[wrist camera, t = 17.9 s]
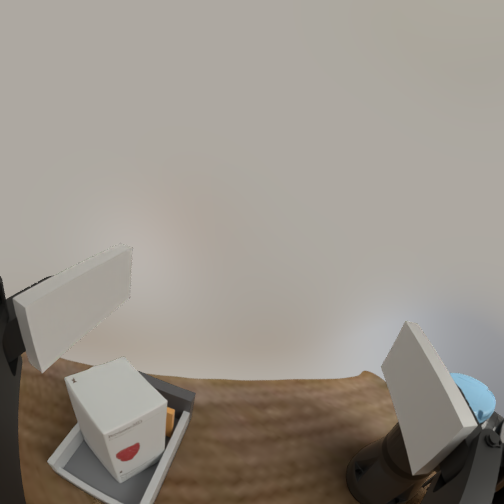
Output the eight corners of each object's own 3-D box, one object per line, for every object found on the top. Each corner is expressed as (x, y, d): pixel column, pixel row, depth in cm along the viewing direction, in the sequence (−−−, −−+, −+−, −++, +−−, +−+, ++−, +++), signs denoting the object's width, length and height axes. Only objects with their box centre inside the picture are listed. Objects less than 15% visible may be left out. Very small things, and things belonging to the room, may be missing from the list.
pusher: (170, 437, 33) (172, 414, 31) (108, 409, 34) (104, 383, 32) (172, 433, 34) (175, 409, 32) (111, 405, 35) (107, 379, 33)
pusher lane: (145, 522, 18) (141, 511, 16) (55, 472, 19) (39, 451, 17) (191, 417, 39) (195, 393, 37) (119, 387, 40) (116, 360, 38)
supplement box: (119, 485, 22) (100, 436, 18) (83, 440, 27) (61, 375, 22) (167, 457, 30) (170, 400, 25) (129, 419, 34) (124, 353, 29)
